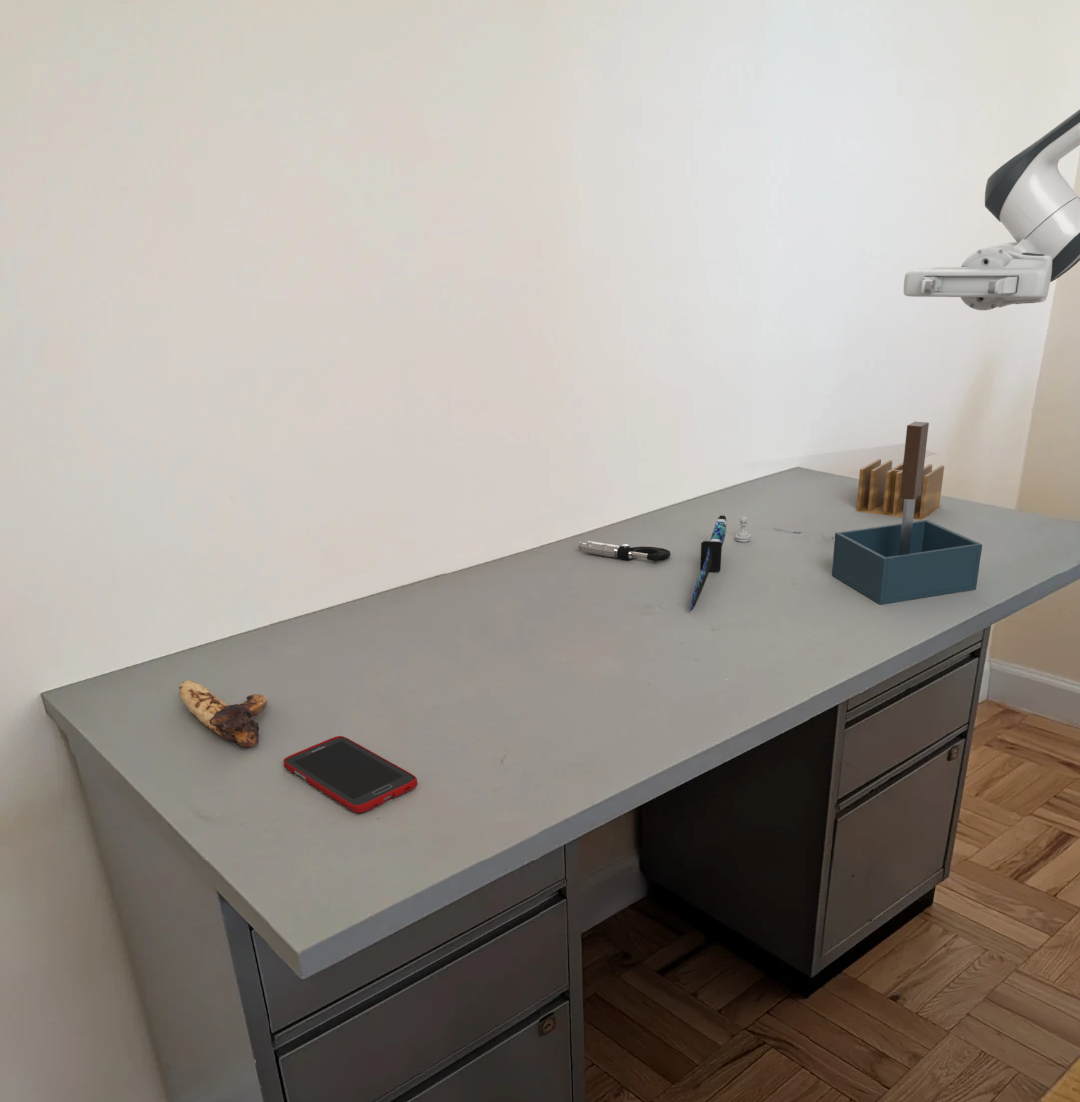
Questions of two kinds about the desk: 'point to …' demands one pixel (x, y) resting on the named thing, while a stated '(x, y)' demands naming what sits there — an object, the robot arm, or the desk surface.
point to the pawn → (743, 531)
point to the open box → (906, 562)
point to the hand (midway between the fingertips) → (959, 287)
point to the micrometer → (623, 551)
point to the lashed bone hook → (224, 713)
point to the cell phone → (350, 773)
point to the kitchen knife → (912, 478)
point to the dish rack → (896, 490)
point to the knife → (710, 557)
